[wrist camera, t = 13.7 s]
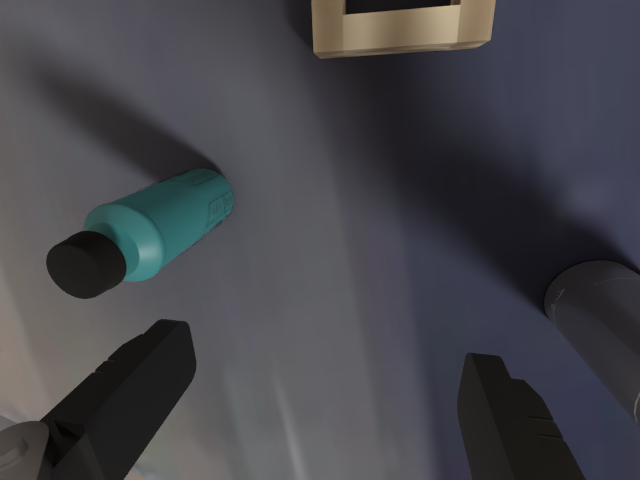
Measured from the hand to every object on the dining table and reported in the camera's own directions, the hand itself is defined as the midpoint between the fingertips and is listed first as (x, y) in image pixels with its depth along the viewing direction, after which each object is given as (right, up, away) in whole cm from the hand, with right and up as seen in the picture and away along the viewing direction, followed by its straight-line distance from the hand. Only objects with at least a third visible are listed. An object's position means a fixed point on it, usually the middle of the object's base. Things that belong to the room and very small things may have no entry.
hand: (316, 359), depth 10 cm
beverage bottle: (-12, +9, +29) cm, 33 cm away
